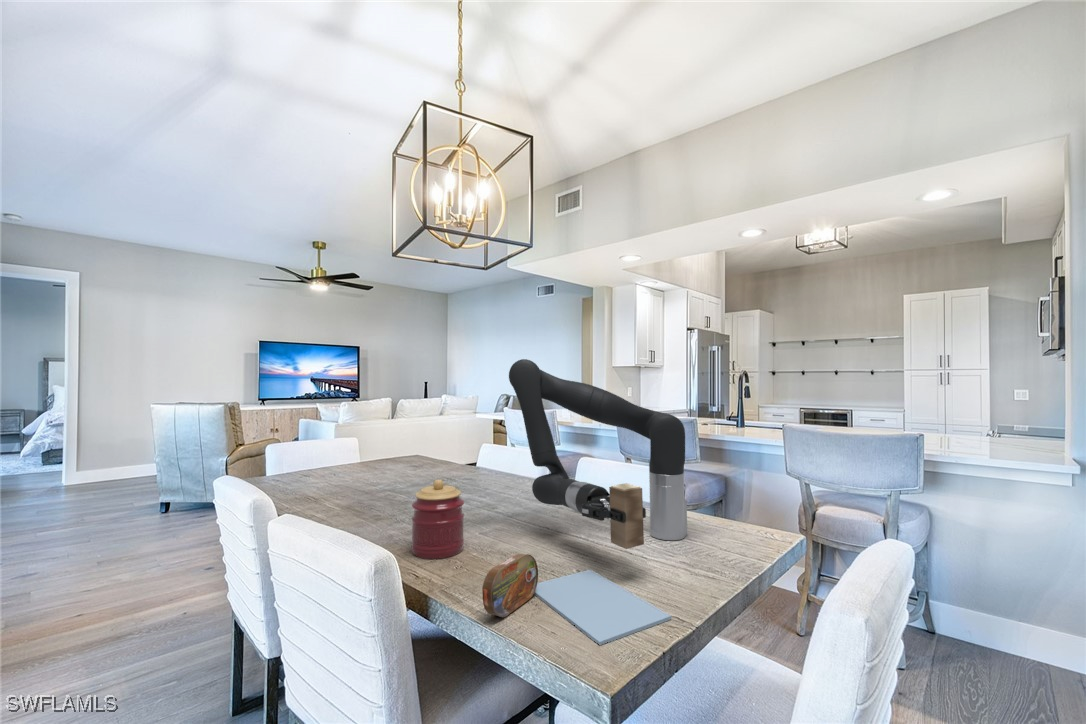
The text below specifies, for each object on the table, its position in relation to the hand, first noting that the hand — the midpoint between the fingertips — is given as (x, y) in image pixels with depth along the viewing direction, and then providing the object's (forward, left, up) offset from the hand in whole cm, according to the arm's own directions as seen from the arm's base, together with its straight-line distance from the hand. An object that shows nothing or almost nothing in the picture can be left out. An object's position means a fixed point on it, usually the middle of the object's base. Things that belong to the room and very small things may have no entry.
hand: (634, 515), depth 99 cm
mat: (+13, +3, -14) cm, 19 cm away
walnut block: (0, -3, -7) cm, 7 cm away
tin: (+27, -4, -14) cm, 31 cm away
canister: (+30, -40, -14) cm, 52 cm away
